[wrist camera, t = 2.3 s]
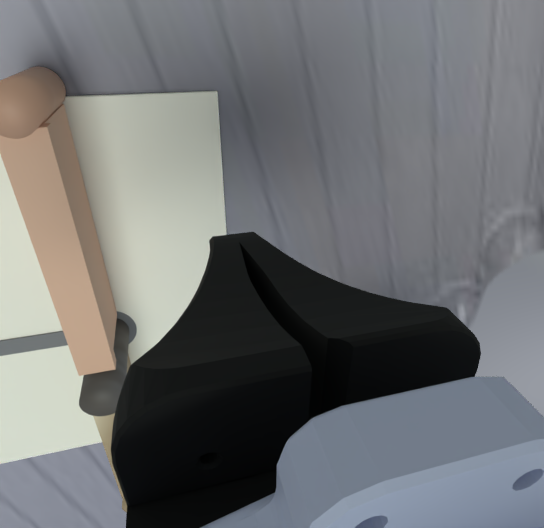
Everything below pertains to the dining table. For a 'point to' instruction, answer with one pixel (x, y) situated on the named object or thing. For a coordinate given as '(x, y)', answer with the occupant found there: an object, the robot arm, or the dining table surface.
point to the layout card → (110, 252)
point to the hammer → (107, 392)
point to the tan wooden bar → (58, 213)
